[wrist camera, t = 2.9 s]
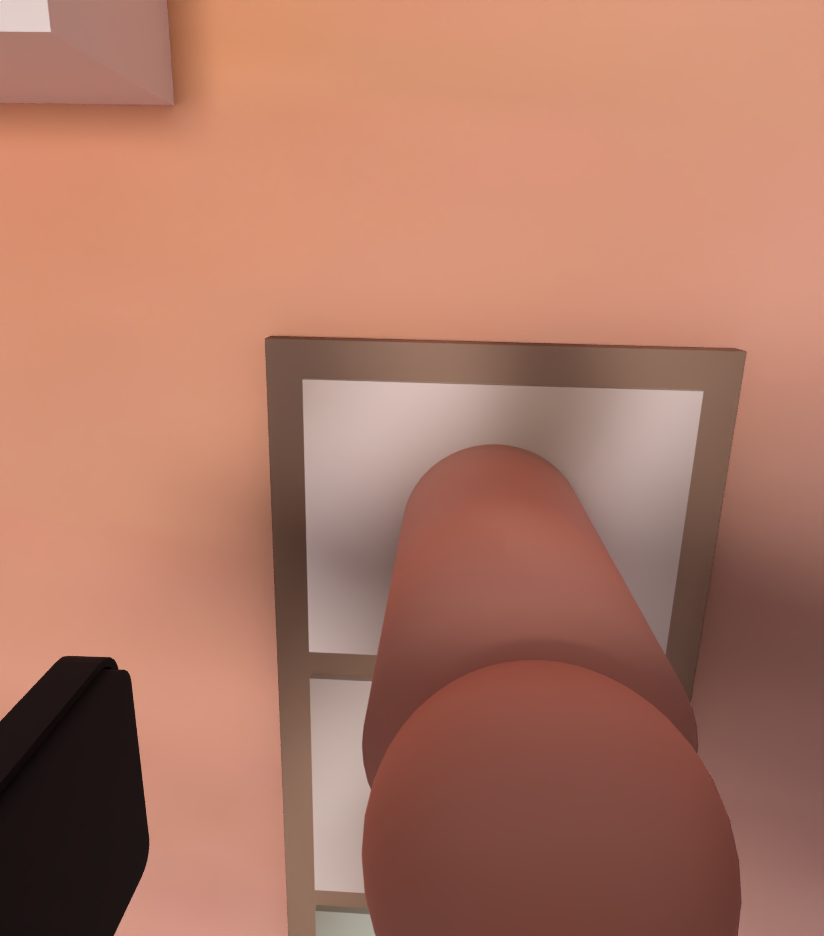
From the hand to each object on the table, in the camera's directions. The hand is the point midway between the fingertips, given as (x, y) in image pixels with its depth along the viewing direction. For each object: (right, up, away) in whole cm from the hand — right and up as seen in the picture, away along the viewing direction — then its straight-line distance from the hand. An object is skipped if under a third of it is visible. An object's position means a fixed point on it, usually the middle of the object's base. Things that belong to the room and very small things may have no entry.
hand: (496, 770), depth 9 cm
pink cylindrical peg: (+1, +2, +8) cm, 9 cm away
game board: (+1, -5, +11) cm, 12 cm away
